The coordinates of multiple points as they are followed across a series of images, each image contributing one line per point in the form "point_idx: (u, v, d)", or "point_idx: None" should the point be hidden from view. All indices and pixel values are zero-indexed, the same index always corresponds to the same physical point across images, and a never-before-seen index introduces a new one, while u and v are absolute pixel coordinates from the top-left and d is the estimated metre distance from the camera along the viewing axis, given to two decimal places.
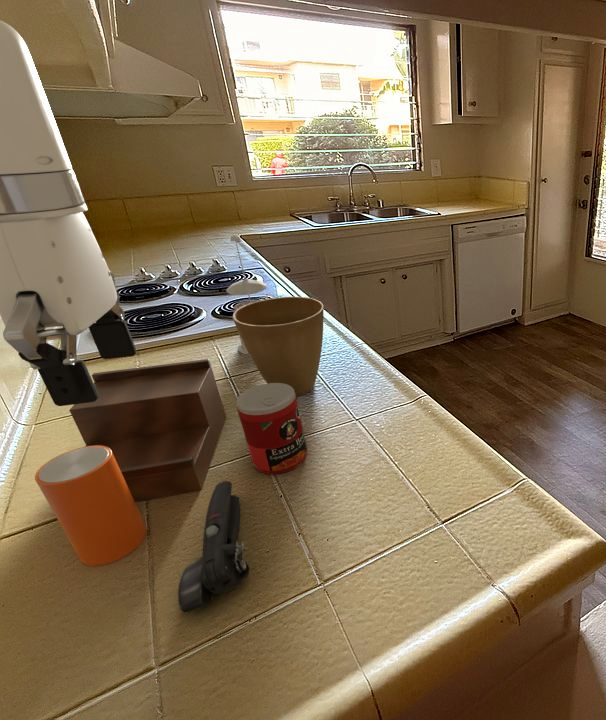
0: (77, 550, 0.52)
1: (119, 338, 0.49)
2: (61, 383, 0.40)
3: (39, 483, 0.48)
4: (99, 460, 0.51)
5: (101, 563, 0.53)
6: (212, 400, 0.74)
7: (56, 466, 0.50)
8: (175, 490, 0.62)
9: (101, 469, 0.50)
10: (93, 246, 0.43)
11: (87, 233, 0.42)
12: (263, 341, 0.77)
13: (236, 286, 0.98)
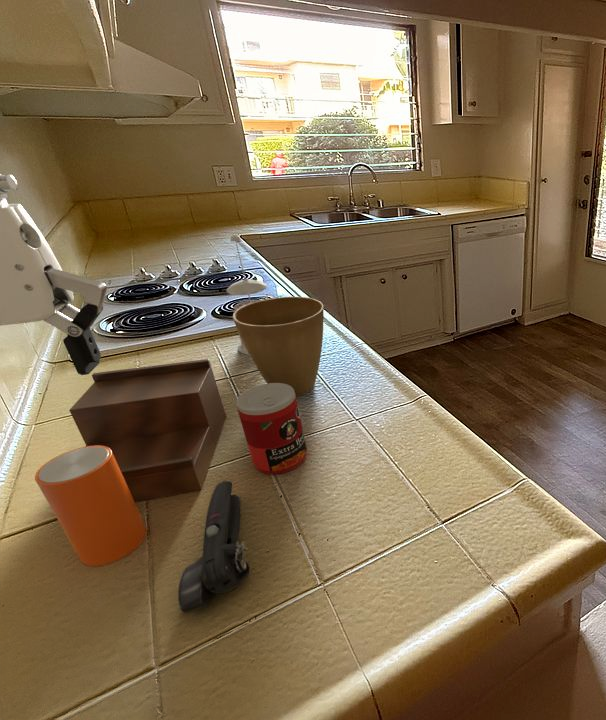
0: (77, 550, 0.52)
1: None
2: None
3: (39, 483, 0.48)
4: (99, 460, 0.51)
5: (101, 563, 0.53)
6: (212, 400, 0.74)
7: (56, 466, 0.50)
8: (175, 490, 0.62)
9: (101, 469, 0.50)
10: None
11: None
12: (263, 341, 0.77)
13: (236, 286, 0.98)
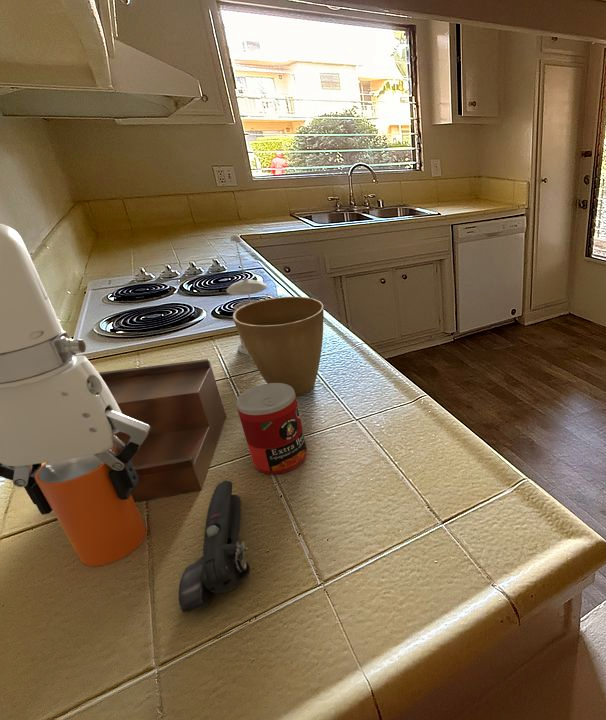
0: (77, 550, 0.52)
1: None
2: None
3: (39, 483, 0.48)
4: (99, 460, 0.51)
5: (101, 563, 0.53)
6: (212, 400, 0.74)
7: (56, 466, 0.50)
8: (175, 490, 0.62)
9: (101, 469, 0.50)
10: (62, 408, 0.45)
11: (53, 398, 0.45)
12: (263, 341, 0.77)
13: (236, 286, 0.98)
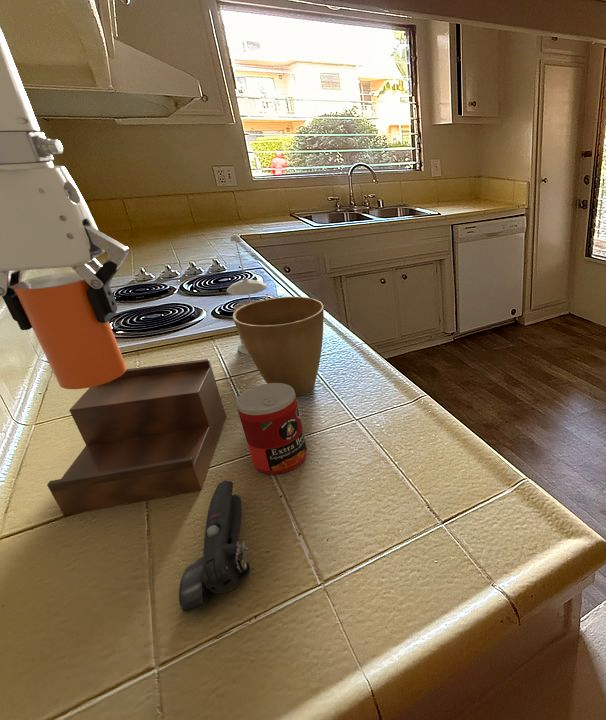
0: (56, 371, 0.53)
1: None
2: None
3: (17, 289, 0.48)
4: (78, 279, 0.52)
5: (80, 387, 0.53)
6: (212, 400, 0.74)
7: (35, 281, 0.51)
8: (175, 490, 0.62)
9: (79, 284, 0.51)
10: (39, 206, 0.46)
11: (30, 193, 0.45)
12: (263, 341, 0.77)
13: (236, 286, 0.98)
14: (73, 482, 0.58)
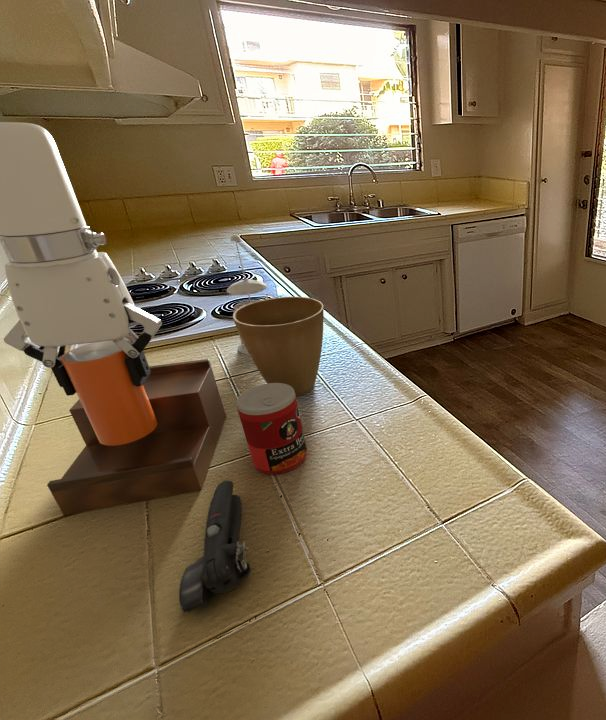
0: (97, 430, 0.59)
1: None
2: None
3: (65, 362, 0.55)
4: (117, 348, 0.58)
5: (118, 443, 0.60)
6: (212, 400, 0.74)
7: (79, 352, 0.57)
8: (175, 490, 0.62)
9: (118, 355, 0.57)
10: (86, 292, 0.52)
11: (79, 282, 0.52)
12: (263, 341, 0.77)
13: (236, 286, 0.98)
14: (73, 482, 0.58)
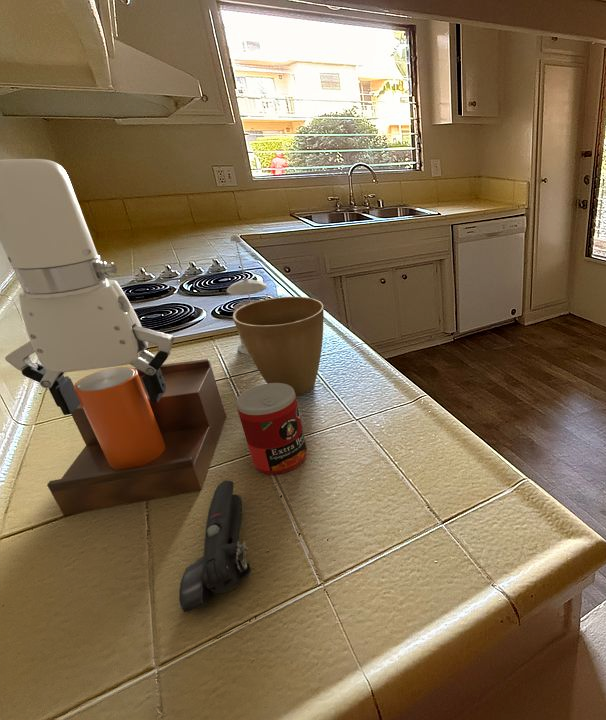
0: (107, 455, 0.61)
1: None
2: None
3: (78, 391, 0.56)
4: (127, 376, 0.59)
5: (128, 467, 0.61)
6: (212, 400, 0.74)
7: (91, 380, 0.59)
8: (175, 490, 0.62)
9: (129, 383, 0.59)
10: (97, 320, 0.54)
11: (90, 310, 0.53)
12: (263, 341, 0.77)
13: (236, 286, 0.98)
14: (73, 482, 0.58)
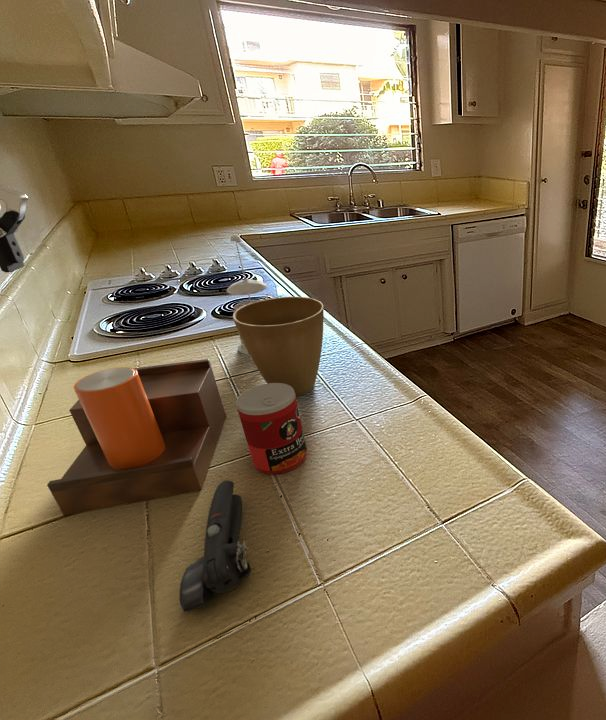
0: (107, 455, 0.61)
1: None
2: None
3: (78, 391, 0.56)
4: (127, 376, 0.59)
5: (128, 467, 0.61)
6: (212, 400, 0.74)
7: (91, 380, 0.59)
8: (175, 490, 0.62)
9: (129, 383, 0.59)
10: None
11: None
12: (263, 341, 0.77)
13: (236, 286, 0.98)
14: (73, 482, 0.58)
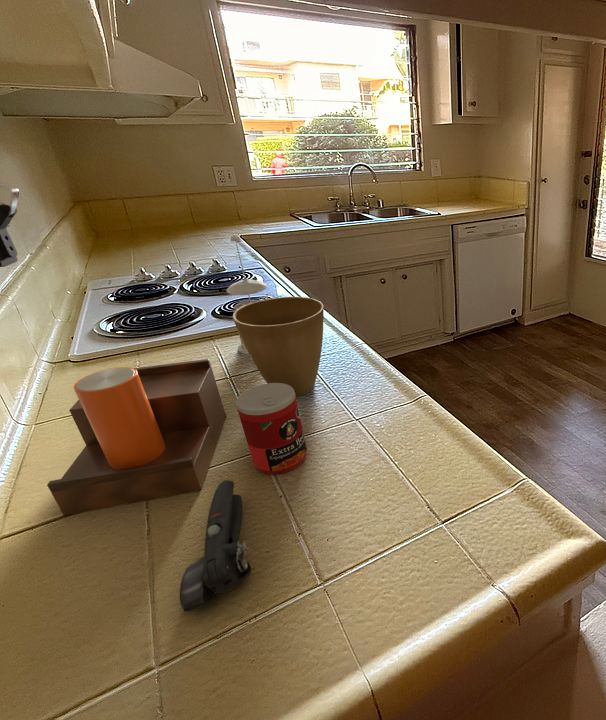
0: (107, 455, 0.61)
1: None
2: None
3: (78, 391, 0.56)
4: (127, 376, 0.59)
5: (128, 467, 0.61)
6: (212, 400, 0.74)
7: (91, 380, 0.59)
8: (175, 490, 0.62)
9: (129, 383, 0.59)
10: None
11: None
12: (263, 341, 0.77)
13: (236, 286, 0.98)
14: (73, 482, 0.58)
